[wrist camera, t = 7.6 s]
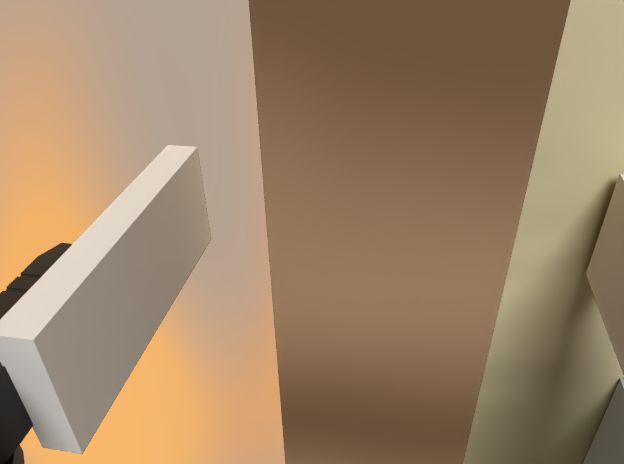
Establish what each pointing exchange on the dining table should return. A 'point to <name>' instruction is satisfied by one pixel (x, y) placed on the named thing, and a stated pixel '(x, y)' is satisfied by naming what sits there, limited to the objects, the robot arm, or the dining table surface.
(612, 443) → the grey notched block
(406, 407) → the rail
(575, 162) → the dining table surface
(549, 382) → the dining table surface
